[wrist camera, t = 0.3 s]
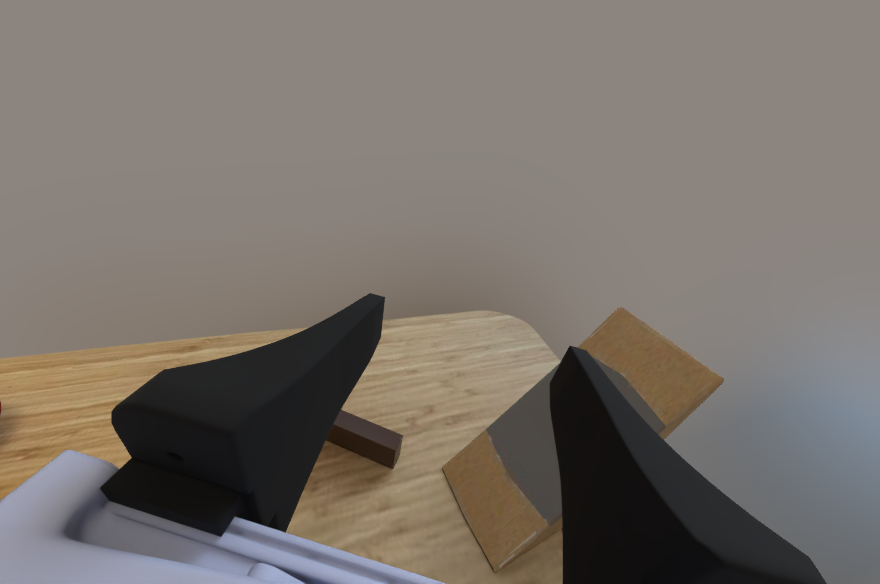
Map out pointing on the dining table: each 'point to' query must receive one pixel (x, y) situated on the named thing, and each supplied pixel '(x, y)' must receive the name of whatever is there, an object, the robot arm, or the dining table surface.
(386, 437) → the back rail
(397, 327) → the dining table surface
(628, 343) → the sandwich container
